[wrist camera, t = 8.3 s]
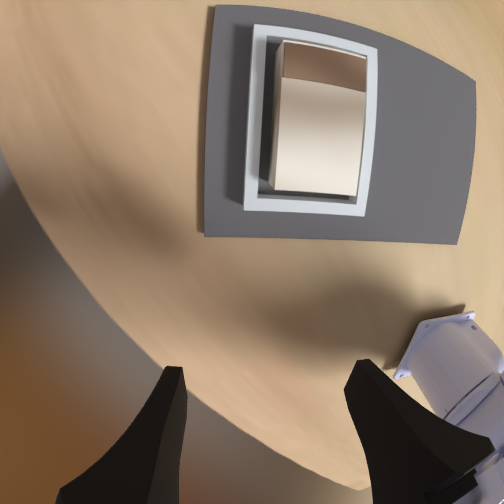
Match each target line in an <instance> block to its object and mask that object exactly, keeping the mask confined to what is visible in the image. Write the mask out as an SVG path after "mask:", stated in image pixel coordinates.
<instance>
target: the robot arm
mask: <svg viewBox="0 0 504 504" xmlns="http://www.w3.org/2000/svg"><path fill="white" fill-rule="evenodd" d="M474 316H475V312H474V311H470V312H465V313H460V314H456V315H451V316H446V317H440V318H435V319H429V320H424V321H421V322H420V323H419V325H418V327H417V329H416V331H415V333H414V336H413V338H412V340H411V342H410V344H409V346H408V348H407V350H406V352H405V354H404V356H403V358H402V360H401V362H400V364H399V366H398V367H397V369H396V371H395V373H394V375H393V378H394V379H399V378H403V377H406V376H410V375H412V376H413V378H414V379H415V381H416V383H417V384H418V386H419V387H420V389H421V391H422V392H423V394H424V396H425V397H426V399H427V401H428V402H429V404H430V406H431V408H432V409H433V411H434V413H435V414H433V413H432V412H430V411H429V410H427V409H426V408H424V407H423V406H422V405H420V404H419V403H418V402H417V401H415V400H414V399H413V398H411V397H410V396H409V395H408V394H407V393H406V392H404V391H403V390H402V389H401V388H400V387H399V386H398V385H397V384H395V383H394V382H393V381H392V380H391V379H390V378H389V377H388V376H387V375H386V374H385V373H384V372H383V371H382V370H381V369H379V368H378V367H377V366H376V365H375V364H374V363H373V362H372V361H371V360H370V359H364V360H357V361H356V364H355V366H354V368H353V370H352V373H351V375H350V377H349V379H348V381H347V383H346V386H345V388H344V393H345V397H346V402H347V406H348V409H349V412H350V415H351V417H352V420H353V423H354V425H355V428H356V430H357V433H358V436H359V438H360V441H361V443H362V446H363V449H364V452H365V456H366V460H367V465H368V469H369V475H370V480H371V487H372V496H373V504H500V503H502V504H504V359H503V355H502V352H501V350H500V349H499V348H498V346H497V345H496V344H495V343H494V342H493V341H492V340H491V339H490V338H489V336H488V335H487V334H486V333H485V332H484V331H483V330H482V329H481V328H480V327H479V326H478V325H477V324H476V323H475V322H474V321H473V318H474ZM186 418H187V391H186V386H185V380H184V374H183V368H182V367H175V366H166V367H165V368H164V371H163V373H162V375H161V377H160V379H159V381H158V382H157V384H156V386H155V388H154V390H153V391H152V393H151V395H150V396H149V398H148V400H147V401H146V403H145V405H144V406H143V408H142V409H141V411H140V412H139V414H138V415H137V416H136V418H135V419H134V421H133V422H132V423H131V425H130V426H129V427H128V429H127V430H126V431H125V433H124V434H123V435H122V436H121V437H120V438H119V440H118V441H117V442H116V443H115V444H114V445H113V446H112V447H111V448H110V449H109V450H108V451H107V452H106V453H105V454H104V455H103V457H101V458H100V459H99V460H98V461H97V462H96V463H94V464H93V465H92V466H91V467H90V468H88V469H87V470H86V471H85V472H84V473H82V474H81V475H80V476H78V477H77V478H75V479H74V480H72V481H71V482H69V483H68V484H67V485H65V486H63V487H62V488H60V490H59V493H58V495H57V498H56V503H55V504H179V466H180V457H181V451H182V444H183V437H184V431H185V425H186Z"/></svg>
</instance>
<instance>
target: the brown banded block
mask: <svg viewBox="0 0 504 504" xmlns="http://www.w3.org/2000/svg"><path fill="white" fill-rule="evenodd" d="M365 92H366V57H363V56H360V55H357V54H353V53H349V52H345V51H341V50H337V49H333V48H328V47H324V46H319V45H314V44H308V43H302V42H296V41H289V40H283V41H282V43H281V45H280V46H279V48H278V50H277V51H276V53H275V71H274V90H273V108H272V126H271V142H270V158H269V174H268V182H269V184H270V185H271V186H272V187H273V188H274V189H275V190H288V191H304V192H317V193H330V194H341V195H352V196H356V191H357V184H358V176H359V167H360V158H361V148H362V137H363V124H364V107H365Z"/></svg>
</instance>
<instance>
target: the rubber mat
mask: <svg viewBox="0 0 504 504" xmlns="http://www.w3.org/2000/svg"><path fill="white" fill-rule="evenodd" d="M254 24H258V25H269V26H278V27H286V28H293V29H299V30H305V31H310V32H316V33H321V34H325V35H330V36H334V37H338V38H342V39H346V40H349V41H353V42H357V43H360V44H363V45H366V46H370V47H373V48H376V49H377V63H378V78H377V110H376V126H375V139H374V149H373V159H372V168H371V176H370V183H369V190H368V197H367V204H366V210H365V216H364V217H363V216H350V215H335V214H319V213H300V212H278V211H248V210H244V208H243V192H244V171H245V150H246V131H247V113H248V95H249V78H250V62H251V47H252V32H253V27H254ZM280 45H281V44H279V43H270V42H266V56H265V74H264V91H263V109H262V126H261V144H260V161H259V178H258V194H266V195H287V196H303V197H318V198H331V199H343V200H349V195H341V194H330V193H317V192H304V191H288V190H275V189H274V188H273V187H272V186H271V185H270V184H269V182H268V174H269V158H270V142H271V126H272V108H273V90H274V71H275V53H276V51H277V50H278V48H279V46H280ZM475 135H476V81H474V80H473V79H471V78H470V77H468V76H467V75H465V74H464V73H462V72H460V71H459V70H457V69H455V68H454V67H452V66H450V65H448V64H447V63H445V62H443V61H441V60H439V59H438V58H436V57H434V56H432V55H430V54H428V53H426V52H424V51H422V50H420V49H418V48H415V47H413V46H411V45H409V44H407V43H404V42H402V41H400V40H397V39H395V38H392V37H390V36H387V35H384V34H382V33H379V32H376V31H373V30H370V29H367V28H364V27H361V26H358V25H355V24H351V23H348V22H344V21H341V20H337V19H333V18H329V17H324V16H320V15H315V14H310V13H305V12H299V11H293V10H286V9H279V8H270V7H260V6H246V5H216V6H215V15H214V24H213V33H212V44H211V55H210V67H209V81H208V97H207V115H206V139H205V177H204V237H253V238H295V239H329V240H358V241H384V242H407V243H429V244H448V245H457V242H458V238H459V234H460V231H461V226H462V222H463V218H464V214H465V209H466V204H467V199H468V194H469V188H470V182H471V175H472V167H473V159H474V149H475Z"/></svg>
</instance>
